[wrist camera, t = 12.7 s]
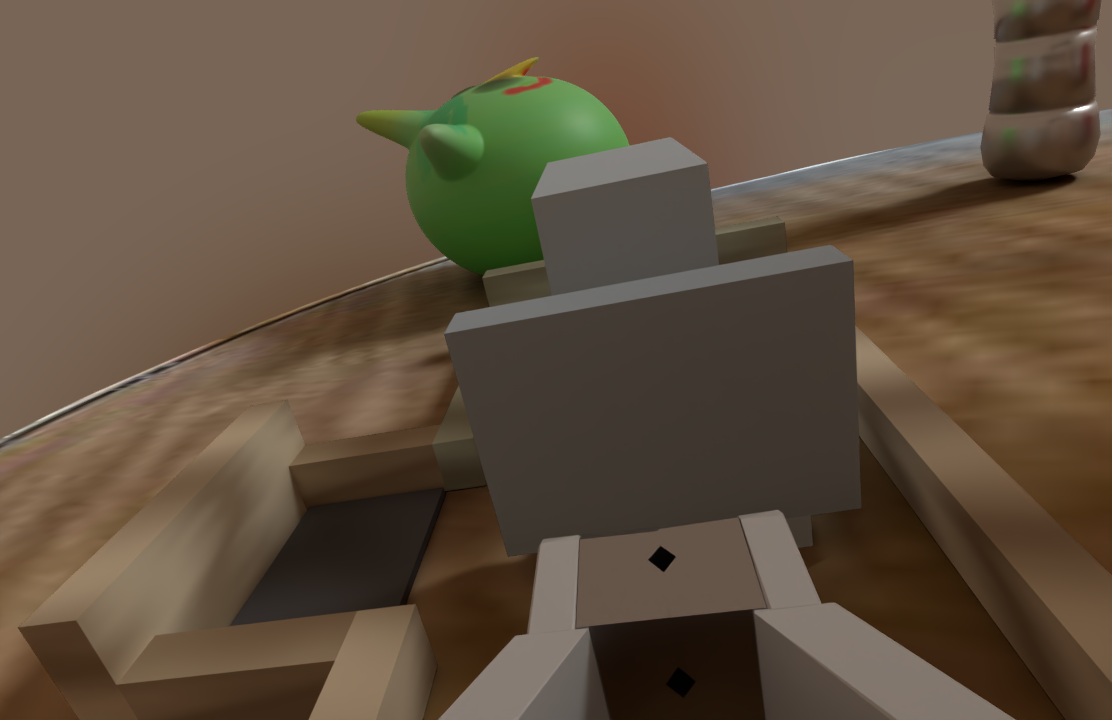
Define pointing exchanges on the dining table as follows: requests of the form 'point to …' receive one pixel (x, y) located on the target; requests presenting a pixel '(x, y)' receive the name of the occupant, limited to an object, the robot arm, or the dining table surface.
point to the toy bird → (492, 161)
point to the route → (404, 531)
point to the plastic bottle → (1042, 89)
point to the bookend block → (659, 365)
